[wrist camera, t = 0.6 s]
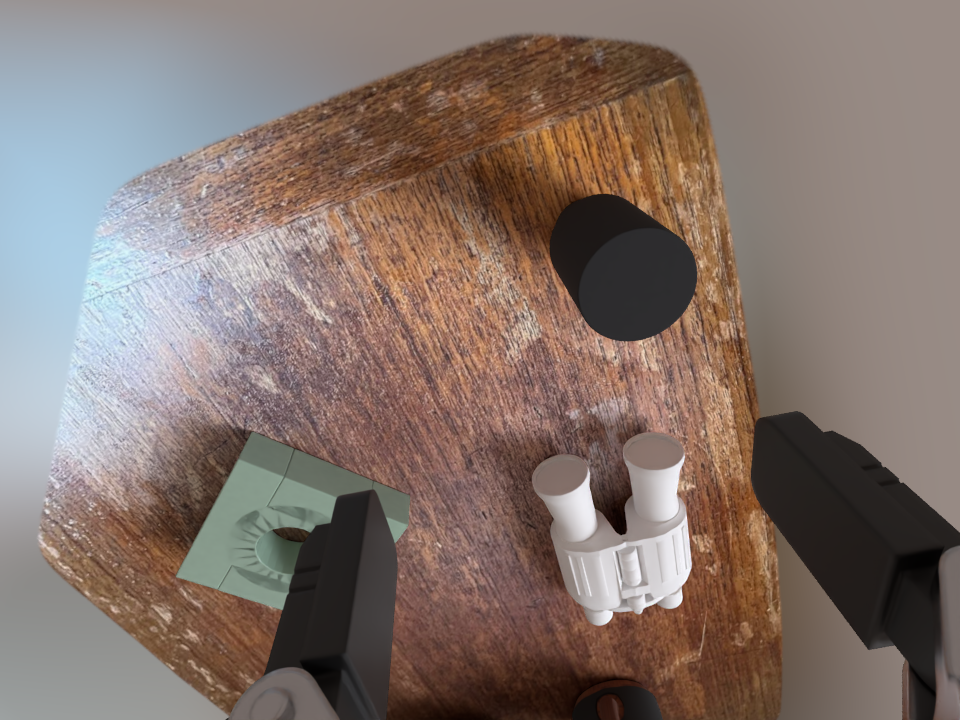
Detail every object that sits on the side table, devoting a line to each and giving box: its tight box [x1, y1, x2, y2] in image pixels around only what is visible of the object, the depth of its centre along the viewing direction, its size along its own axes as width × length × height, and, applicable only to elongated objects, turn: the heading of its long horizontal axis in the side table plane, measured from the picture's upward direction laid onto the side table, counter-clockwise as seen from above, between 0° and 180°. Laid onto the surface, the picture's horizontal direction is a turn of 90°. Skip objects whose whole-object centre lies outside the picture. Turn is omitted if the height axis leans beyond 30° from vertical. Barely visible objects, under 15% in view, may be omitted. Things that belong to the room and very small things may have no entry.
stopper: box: [550, 194, 697, 341], centre depth 27 cm, size 5×5×9 cm
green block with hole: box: [176, 432, 410, 610], centre depth 39 cm, size 12×12×3 cm
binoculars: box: [532, 432, 692, 625], centre depth 40 cm, size 10×16×5 cm, turn 15°
